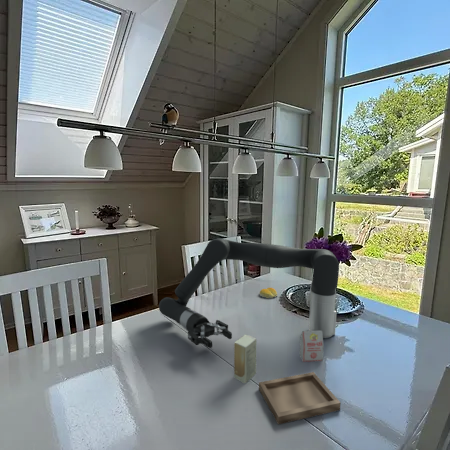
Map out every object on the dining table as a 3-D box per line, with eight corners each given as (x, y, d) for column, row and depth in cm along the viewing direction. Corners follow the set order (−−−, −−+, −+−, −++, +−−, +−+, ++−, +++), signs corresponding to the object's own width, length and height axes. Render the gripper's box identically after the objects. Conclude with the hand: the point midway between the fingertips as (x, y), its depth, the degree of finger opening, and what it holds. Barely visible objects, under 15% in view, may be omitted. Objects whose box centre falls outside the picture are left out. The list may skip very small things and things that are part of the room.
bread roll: (256, 294, 157) (257, 287, 156) (271, 291, 161) (271, 284, 160) (265, 300, 150) (265, 292, 149) (280, 297, 153) (280, 290, 153)
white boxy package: (299, 355, 103) (300, 328, 102) (318, 354, 104) (319, 328, 102) (302, 361, 100) (304, 334, 98) (322, 361, 100) (324, 333, 99)
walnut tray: (313, 378, 92) (313, 371, 91) (340, 410, 79) (340, 402, 79) (258, 389, 87) (258, 382, 86) (278, 424, 74) (278, 416, 74)
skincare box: (245, 368, 96) (245, 333, 94) (256, 373, 93) (257, 338, 92) (233, 378, 91) (233, 341, 89) (244, 384, 89) (245, 347, 87)
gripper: (177, 318, 107) (204, 337, 94) (209, 307, 116) (237, 323, 104) (177, 338, 108) (204, 359, 96) (208, 325, 117) (236, 343, 105)
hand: (221, 340), depth 100 cm, fingers open, 8 cm apart
